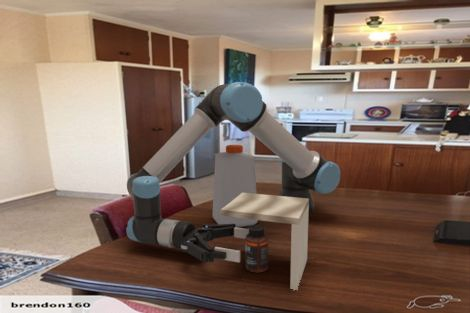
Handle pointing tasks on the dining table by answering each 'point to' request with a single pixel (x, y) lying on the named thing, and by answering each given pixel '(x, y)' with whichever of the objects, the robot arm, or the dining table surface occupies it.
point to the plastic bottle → (233, 182)
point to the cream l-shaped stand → (282, 212)
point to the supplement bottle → (256, 249)
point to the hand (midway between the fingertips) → (248, 245)
